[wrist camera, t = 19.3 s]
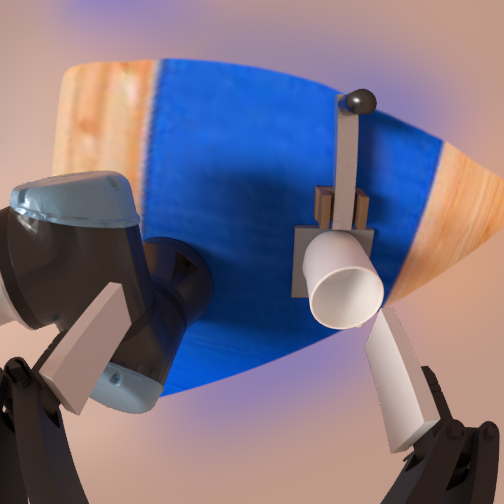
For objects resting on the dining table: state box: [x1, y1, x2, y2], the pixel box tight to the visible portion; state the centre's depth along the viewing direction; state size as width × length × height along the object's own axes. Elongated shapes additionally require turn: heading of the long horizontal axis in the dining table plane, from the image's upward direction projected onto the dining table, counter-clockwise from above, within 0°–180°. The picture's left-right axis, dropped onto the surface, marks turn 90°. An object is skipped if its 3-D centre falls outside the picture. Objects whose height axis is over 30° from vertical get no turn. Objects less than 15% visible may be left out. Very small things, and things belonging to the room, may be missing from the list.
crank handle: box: [330, 89, 377, 230], centre depth 26 cm, size 2×16×8 cm, turn 1°
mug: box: [304, 230, 384, 329], centre depth 32 cm, size 12×8×10 cm
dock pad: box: [291, 225, 374, 298], centre depth 38 cm, size 11×11×1 cm
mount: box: [314, 186, 369, 230], centre depth 32 cm, size 6×4×5 cm, turn 91°
